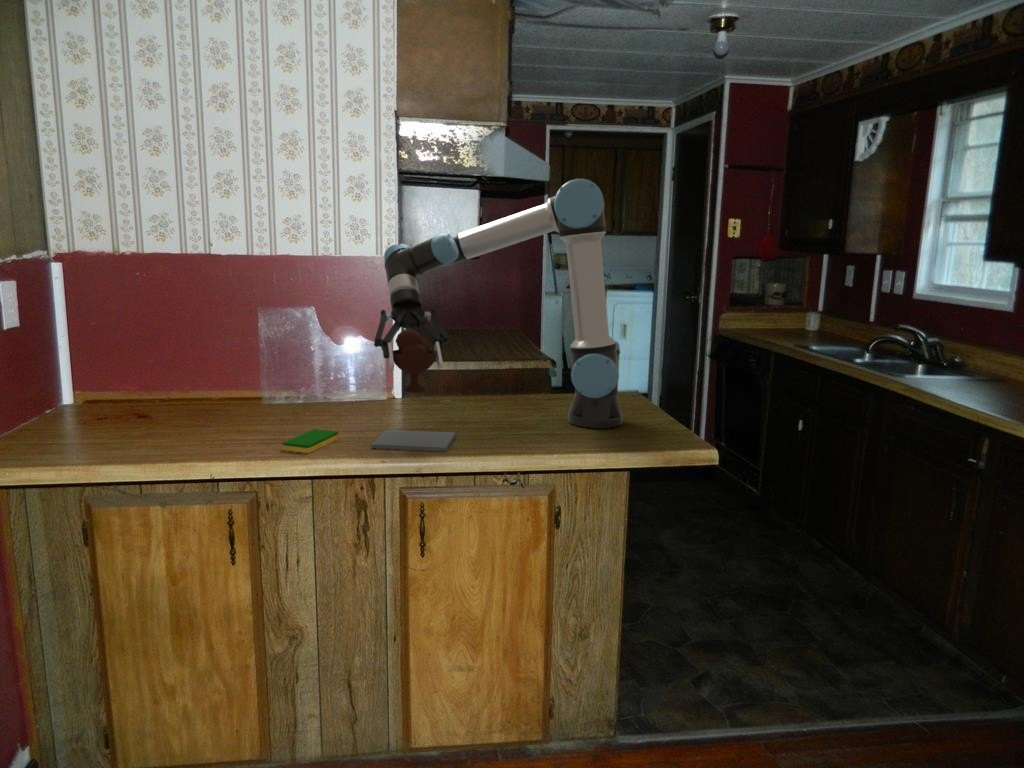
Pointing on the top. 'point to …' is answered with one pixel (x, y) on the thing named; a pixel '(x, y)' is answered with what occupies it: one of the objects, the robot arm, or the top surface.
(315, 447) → the dish sponge
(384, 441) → the mat
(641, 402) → the top surface
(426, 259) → the robot arm
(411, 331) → the ice cream bowl
